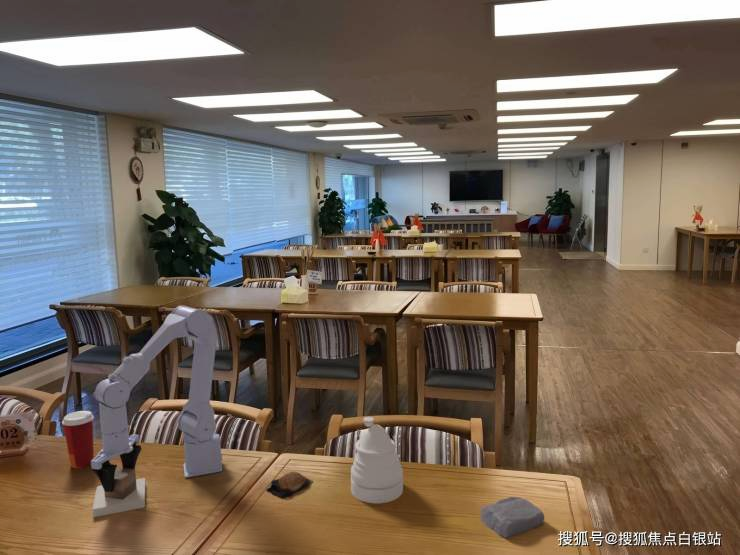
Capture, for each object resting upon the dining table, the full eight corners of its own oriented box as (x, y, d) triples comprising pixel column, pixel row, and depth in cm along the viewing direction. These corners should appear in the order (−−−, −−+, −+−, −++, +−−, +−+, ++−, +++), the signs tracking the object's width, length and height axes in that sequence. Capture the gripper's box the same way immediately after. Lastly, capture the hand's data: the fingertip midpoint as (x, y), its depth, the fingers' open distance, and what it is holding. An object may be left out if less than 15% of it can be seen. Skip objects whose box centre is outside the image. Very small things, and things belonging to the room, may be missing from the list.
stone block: (476, 526, 125) (506, 542, 116) (474, 505, 125) (504, 518, 116) (516, 513, 130) (548, 527, 121) (514, 493, 130) (546, 504, 122)
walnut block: (136, 488, 136) (135, 469, 135) (123, 499, 131) (121, 479, 130) (118, 486, 137) (117, 467, 136) (104, 497, 132) (103, 477, 131)
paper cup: (103, 457, 157) (99, 410, 155) (87, 470, 149) (82, 421, 147) (77, 456, 158) (72, 409, 156) (59, 469, 150) (54, 420, 148)
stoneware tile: (145, 485, 141) (145, 477, 141) (144, 507, 131) (144, 499, 131) (97, 494, 137) (96, 486, 137) (93, 517, 127) (92, 509, 127)
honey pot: (342, 497, 134) (340, 426, 132) (363, 472, 146) (361, 407, 143) (392, 507, 129) (391, 434, 127) (409, 481, 141) (409, 413, 138)
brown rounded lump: (292, 475, 147) (292, 462, 146) (316, 484, 141) (316, 471, 141) (262, 492, 138) (261, 478, 138) (286, 502, 133) (285, 488, 133)
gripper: (108, 444, 124) (113, 501, 126) (148, 419, 138) (152, 470, 140) (81, 441, 125) (86, 497, 127) (123, 416, 139) (127, 467, 141)
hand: (119, 483), depth 134 cm, fingers open, 7 cm apart
